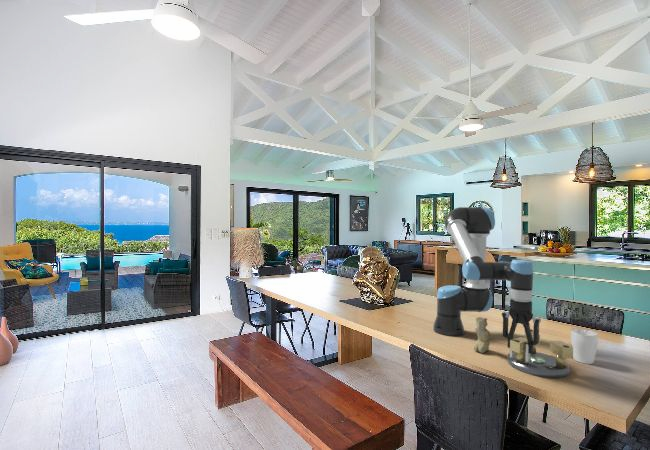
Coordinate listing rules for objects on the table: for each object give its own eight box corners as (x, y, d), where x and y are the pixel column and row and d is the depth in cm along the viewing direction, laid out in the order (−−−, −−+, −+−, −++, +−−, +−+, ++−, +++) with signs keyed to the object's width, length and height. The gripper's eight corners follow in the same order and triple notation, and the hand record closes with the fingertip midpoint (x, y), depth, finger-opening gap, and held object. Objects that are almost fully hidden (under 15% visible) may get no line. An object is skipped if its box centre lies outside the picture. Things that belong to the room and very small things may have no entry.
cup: (564, 356, 146) (565, 328, 146) (584, 356, 147) (585, 328, 147) (582, 365, 137) (583, 336, 137) (603, 365, 138) (603, 335, 138)
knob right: (549, 362, 134) (550, 340, 134) (560, 362, 134) (560, 340, 134) (562, 370, 127) (562, 346, 127) (572, 370, 127) (573, 346, 127)
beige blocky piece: (539, 356, 141) (540, 334, 140) (528, 355, 142) (529, 333, 142) (534, 350, 147) (535, 329, 147) (524, 349, 148) (524, 328, 148)
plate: (513, 373, 130) (513, 365, 130) (502, 352, 150) (503, 346, 150) (578, 381, 124) (578, 373, 124) (558, 359, 144) (558, 352, 144)
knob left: (520, 358, 138) (521, 336, 138) (530, 362, 135) (531, 339, 135) (509, 361, 135) (510, 339, 135) (519, 365, 132) (519, 342, 132)
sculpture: (471, 350, 153) (471, 317, 152) (480, 347, 156) (481, 314, 156) (483, 355, 148) (483, 320, 147) (492, 351, 152) (493, 317, 151)
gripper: (550, 302, 130) (549, 363, 131) (500, 294, 144) (499, 349, 144) (544, 305, 125) (543, 368, 126) (493, 297, 139) (492, 354, 139)
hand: (519, 358), depth 135 cm, fingers closed on knob left, 5 cm apart
